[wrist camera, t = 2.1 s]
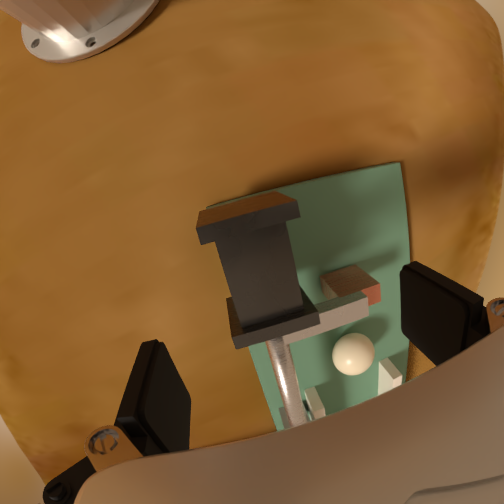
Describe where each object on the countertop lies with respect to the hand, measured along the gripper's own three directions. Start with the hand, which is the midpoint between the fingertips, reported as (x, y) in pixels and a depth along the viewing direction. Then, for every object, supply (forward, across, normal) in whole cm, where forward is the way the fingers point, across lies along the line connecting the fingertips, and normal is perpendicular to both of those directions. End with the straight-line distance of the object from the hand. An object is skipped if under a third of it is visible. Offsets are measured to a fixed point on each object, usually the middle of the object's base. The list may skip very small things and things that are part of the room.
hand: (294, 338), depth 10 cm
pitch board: (+12, -5, +8) cm, 16 cm away
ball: (+9, -6, +10) cm, 15 cm away
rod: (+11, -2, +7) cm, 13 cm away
